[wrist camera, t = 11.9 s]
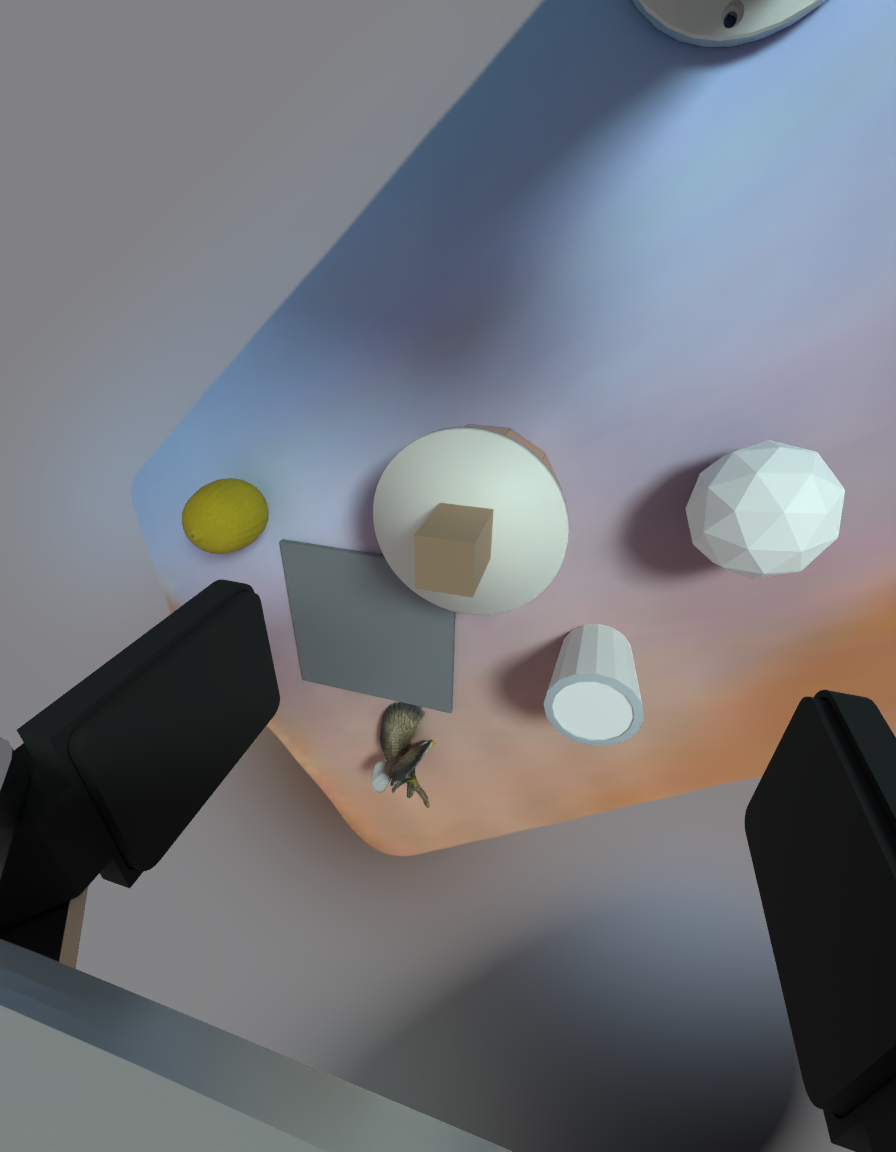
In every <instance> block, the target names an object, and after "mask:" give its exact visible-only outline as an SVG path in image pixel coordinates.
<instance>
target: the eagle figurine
mask: <svg viewBox="0 0 896 1152" xmlns="http://www.w3.org/2000/svg"><path fill="white" fill-rule="evenodd" d="M423 716H424V712H423V711H422V710H421V707H420V706H416V705H412V704H407V703H403V702H399V704H397V703H394V705H391V706H390V707H389V708H388V709H387V711H385V715H384V716H383V721H382V728H381V735H380V740H381V741H380V743H381V747H382V750H383V752H384V754H385V756H386V760H387V762H378V763H377V764H376V765H375V767H374V771H373V774H372V780H371V784H372V786H373V788H374V789H375V790H376V791H378V792H383V791H384V790H385V789H386V788H387V786H388V784H389V782H390V779H391V778H392V780H391V784H390V785H391V786H393V784H394V781H395V782H396V781H397V780H398V781H397V782H396V783H395V785H394V787H393V788H392V793H394V792H395V790H396V789H397V788H398V787H399V786H401V785H402V784H404V783H405V782H406V783H407V784H408V785H407V798H411V797H412V796H413V794H414V791H416V792H417V793H418V794H419V795H420V796H421V798H422V799H423V801H424V804H425V806H426V807H427V808H429V801H428V797H427V795H426V793H425V792H424V790H423V789H422V788H421V787H420V785H419V783H418V781H417V779H416V776H415V766H416V765H417V764H418V763H419V761H420V760H421V759H422V757H423V755H424V754H425V753H426V752H427V751H428V750H429V749H430V747H431V746H432V745H433V744H435V742H434V741H432V740H430V741H429V742H428V741H426V742H424V743H422V744H420V745H419V746H417V747H415V748H412V747H411V745H410V741H411V738H412V735H413V732H414V730H415V728H416V727H417V725H418V724H419V722H420V721H421V719H422V718H423Z"/></svg>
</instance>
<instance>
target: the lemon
mask: <svg viewBox="0 0 896 1152" xmlns="http://www.w3.org/2000/svg"><path fill="white" fill-rule="evenodd" d="M267 521H268V507H267V503H266V500H265V498H264V497H263V495H262V494H261V492H260V491H259V490H258V489H257V488H256V487H254V486H253V485H251V484H250V483H248V482H245V481H243V480H239V479H232V478H230V479H221V480H216V481H213V482H211V483H209V484H207V485H205V486H203V487H202V488H200V489H199V490H198V491H197V492H196V493H195V494H194V495H193V496H192V497H191V498H190V499H189V500H188V501H187V503H186V505H185V507H184V510H183V513H182V524H183V529H184V531H185V534H186V535H187V537H188V539H189V540H190V541H191V542H192V543H193V544H194V545H196V546H197V547H198V548H200V549H202V550H204V551H207V552H210V553H217V554H225V553H229V552H234V551H237V550H240V549H242V548H244V547H246V546H247V545H249V544H251V543H252V542H253V541H255V540H256V539H257V538H258V537H259V535H260V534H261V533H262V532H263V530H264V529H265V526H266V523H267Z"/></svg>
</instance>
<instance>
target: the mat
mask: <svg viewBox="0 0 896 1152" xmlns="http://www.w3.org/2000/svg"><path fill="white" fill-rule="evenodd" d="M280 547H281V553H282V559H283V565H284V571H285V577H286V583H287V589H288V595H289V601H290V607H291V613H292V619H293V625H294V631H295V637H296V643H297V649H298V655H299V661H300V667H301V673H302V679H303V680H306V681H310V682H315V683H319V684H323V685H328V686H332V687H337V688H341V689H346V690H350V691H354V692H359V693H363V694H368V695H372V696H376V697H381V698H385V699H390V700H394V701H399V702H403V703H407V704H412V705H416V706H421V707H425V708H430V709H434V710H438V711H443V712H447V713H451V712H452V702H453V670H454V638H455V611H451V610H448V609H445V608H442V607H439V606H437V605H435V604H433V603H431V602H429V601H427V600H426V599H424V598H422V597H421V596H419V595H418V594H416V593H415V592H414V591H412V590H411V589H410V588H409V587H408V586H407V585H406V584H405V583H403V582H402V581H401V579H400V578H399V577H398V576H397V575H396V574H395V573H394V571H393V570H392V568H391V567H390V565H389V564H388V563H387V561H386V559H385V557H384V555H379V554H373V553H366V552H360V551H353V550H347V549H341V548H334V547H328V546H322V545H315V544H309V543H302V542H296V541H290V540H281V541H280Z"/></svg>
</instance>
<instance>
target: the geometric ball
mask: <svg viewBox="0 0 896 1152" xmlns="http://www.w3.org/2000/svg"><path fill="white" fill-rule="evenodd" d="M844 493H845V489H844V488H843V486H842V485H841V484H840V482H839V481H838V479H837V478H836V477H835V475H834V474H833V472H832V471H831V470H830V469H829V467H828V466H827V465H826V463H825V462H824V461H823V459H822V458H821V457H820V455H819V454H818V453H817V452H815V451H811V450H807V449H803V448H799V447H795V446H791V445H787V444H783V443H779V442H775V441H771V440H768V441H765V442H762V443H759V444H756V445H753V446H750V447H747V448H744V449H741V450H738V451H735V452H732V453H729V454H726V455H724V456H722V457H721V458H720V459H718V460H717V461H716V462H714V463H713V464H712V465H710V466H709V467H708V468H706V469H705V470H704V471H702V472H701V473H700V474H699V477H698V479H697V482H696V484H695V487H694V489H693V492H692V494H691V496H690V499H689V501H688V504H687V506H686V514H687V519H688V524H689V528H690V533H691V538H692V543H693V545H694V546H695V547H696V548H697V549H699V550H700V551H701V552H702V553H703V554H704V555H705V556H706V557H707V558H708V559H710V560H711V561H712V562H713V563H715V564H717V565H719V566H720V567H723V568H725V569H728V570H730V571H733V572H735V573H738V574H741V575H743V576H746V577H748V578H751V579H757V578H763V577H769V576H775V575H781V574H788V573H794V572H800V571H802V570H803V569H804V568H805V567H806V566H807V565H808V564H809V563H811V562H812V561H813V560H814V559H815V558H816V557H817V556H818V555H819V554H820V553H821V552H823V551H824V550H825V549H826V548H827V547H828V546H829V545H830V544H831V543H832V542H834V541H835V540H836V539H837V538H838V535H839V528H840V521H841V514H842V507H843V500H844Z"/></svg>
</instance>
